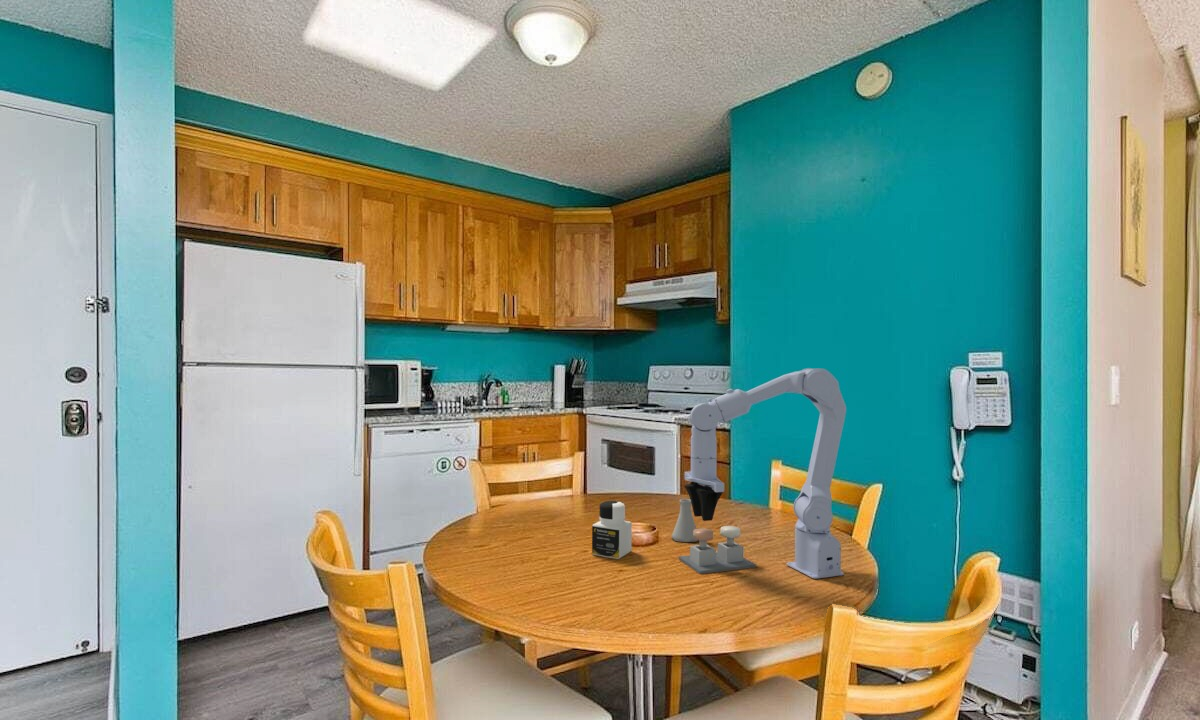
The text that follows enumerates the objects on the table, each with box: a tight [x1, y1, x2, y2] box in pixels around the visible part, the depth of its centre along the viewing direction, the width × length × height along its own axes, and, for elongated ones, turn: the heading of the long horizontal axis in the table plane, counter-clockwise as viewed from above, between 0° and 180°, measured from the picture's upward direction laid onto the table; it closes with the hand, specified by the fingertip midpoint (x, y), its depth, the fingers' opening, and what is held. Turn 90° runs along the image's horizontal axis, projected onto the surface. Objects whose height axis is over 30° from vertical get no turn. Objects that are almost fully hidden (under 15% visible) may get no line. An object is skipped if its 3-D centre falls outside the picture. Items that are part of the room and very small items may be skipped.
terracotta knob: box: [693, 527, 714, 550], centre depth 133 cm, size 4×4×4 cm
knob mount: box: [678, 541, 757, 575], centre depth 134 cm, size 10×14×4 cm
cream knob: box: [720, 525, 741, 547], centre depth 135 cm, size 4×4×4 cm
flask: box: [670, 498, 699, 543], centre depth 152 cm, size 7×7×10 cm
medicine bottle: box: [591, 500, 633, 560], centre depth 140 cm, size 7×7×12 cm
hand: (703, 518), depth 133 cm, fingers open, 3 cm apart
